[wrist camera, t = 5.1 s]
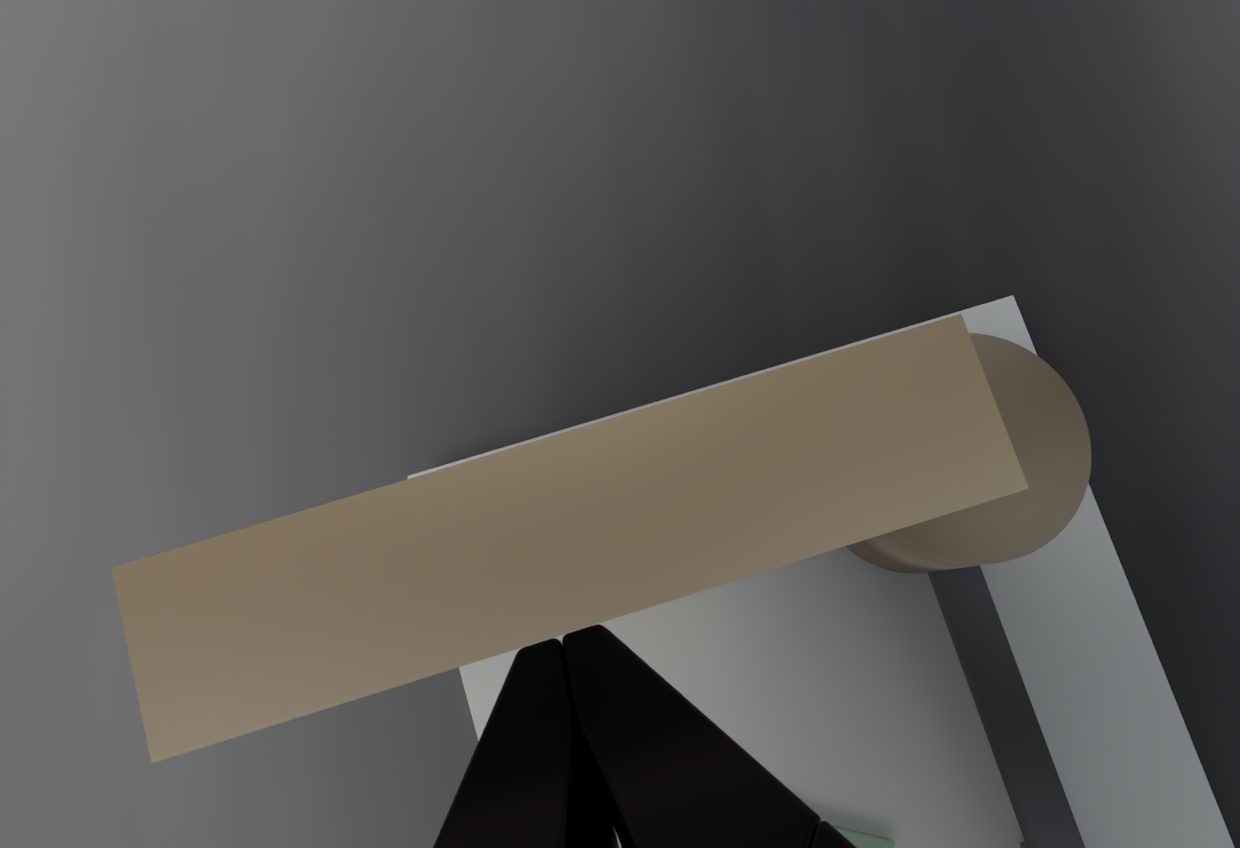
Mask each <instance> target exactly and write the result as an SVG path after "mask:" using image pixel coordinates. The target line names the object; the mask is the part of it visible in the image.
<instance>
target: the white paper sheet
mask: <svg viewBox="0 0 1240 848" xmlns="http://www.w3.org/2000/svg"><path fill="white" fill-rule="evenodd" d="M959 314H961V315H962V317H963V320H964V322H965V325H966V327H967V330H968V333H978V334H985V335H991V336H995V337H998V338H1002V339H1005V340H1008V341H1011V342H1013V343H1015V344H1018V345H1020V346H1022V347H1024V348H1026V349H1027V350H1029V351H1031V352H1032V353H1034V354H1036V355H1037V353H1036V351H1035V348H1034V346H1033V343H1032V341H1031V338H1030V336H1029V333H1028V331H1027V328H1026V326H1025V323H1024V321H1023V318H1022V316H1021V313H1020V311H1019V308H1018V306H1017V303H1016V301H1015V298H1014V296H1013V295H1012V296H1009V297H1006V298H1002V299H999V300H995V301H992V302H989V303H985V304H982V305H979V306H975V307H972V308H969V309H965V310H962V311H959V312H955V313H952V314H949V315H945V316H942V317H939V318H935V319H932V320H928V321H925V322H922V323H918V324H915V325H912V326H908V327H905V328H902V329H898V330H895V331H892V332H888V333H885V334H882V335H878V336H875V337H871V338H868V339H865V340H861V341H858V342H855V343H851V344H848V345H845V346H841V347H838V348H835V349H831V350H828V351H825V352H821V353H818V354H815V355H811V356H808V357H804V358H801V359H798V360H794V361H791V362H788V363H784V364H781V365H778V366H774V367H771V368H768V369H764V370H761V371H758V372H754V373H751V374H748V375H744V376H741V377H737V378H734V379H731V380H727V381H724V382H721V383H717V384H714V385H711V386H707V387H704V388H701V389H697V390H694V391H691V392H687V393H684V394H681V395H677V396H674V397H670V398H667V399H664V400H660V401H657V402H654V403H650V404H647V405H644V406H640V407H637V408H634V409H630V410H627V411H624V412H620V413H617V414H614V415H610V416H607V417H603V418H600V419H597V420H593V421H590V422H587V423H583V424H580V425H577V426H573V427H570V428H567V429H563V430H560V431H557V432H553V433H550V434H547V435H543V436H540V437H536V438H533V439H530V440H526V441H523V442H520V443H516V444H513V445H510V446H506V447H503V448H500V449H496V450H493V451H490V452H486V453H483V454H479V455H476V456H473V457H469V458H466V459H463V460H459V461H456V462H453V463H449V464H446V465H443V466H439V467H436V468H433V469H429V470H426V471H423V472H419V473H416V474H412V475H409V476H407V477H408V479H410V478H413V477H417V476H420V475H423V474H427V473H430V472H433V471H437V470H440V469H443V468H447V467H450V466H453V465H457V464H460V463H464V462H467V461H470V460H474V459H477V458H480V457H484V456H487V455H490V454H494V453H497V452H500V451H504V450H507V449H510V448H514V447H517V446H520V445H524V444H527V443H530V442H534V441H537V440H541V439H544V438H547V437H551V436H554V435H557V434H561V433H564V432H567V431H571V430H574V429H577V428H581V427H584V426H587V425H591V424H594V423H597V422H601V421H604V420H607V419H611V418H614V417H618V416H621V415H624V414H628V413H631V412H634V411H638V410H641V409H644V408H648V407H651V406H654V405H658V404H661V403H664V402H668V401H671V400H674V399H678V398H681V397H684V396H688V395H691V394H695V393H698V392H701V391H705V390H708V389H711V388H715V387H718V386H721V385H725V384H728V383H731V382H735V381H738V380H741V379H745V378H748V377H751V376H755V375H758V374H761V373H765V372H768V371H772V370H775V369H778V368H782V367H785V366H788V365H792V364H795V363H798V362H802V361H805V360H808V359H812V358H815V357H818V356H822V355H825V354H828V353H832V352H835V351H838V350H842V349H845V348H849V347H852V346H855V345H859V344H862V343H865V342H869V341H872V340H875V339H879V338H882V337H885V336H889V335H892V334H895V333H899V332H902V331H905V330H909V329H912V328H915V327H919V326H922V325H926V324H929V323H932V322H936V321H939V320H942V319H946V318H949V317H952V316H956V315H959ZM980 567H981V570H982V572H983V575H984V578H985V580H986V583H987V586H988V588H989V591H990V594H991V596H992V599H993V602H994V604H995V607H996V610H997V612H998V615H999V618H1000V620H1001V623H1002V626H1003V628H1004V631H1005V634H1006V636H1007V639H1008V642H1009V645H1010V647H1011V650H1012V653H1013V655H1014V658H1015V661H1016V663H1017V666H1018V669H1019V671H1020V674H1021V677H1022V679H1023V682H1024V685H1025V687H1026V690H1027V693H1028V695H1029V698H1030V701H1031V703H1032V706H1033V709H1034V711H1035V714H1036V717H1037V719H1038V722H1039V725H1040V727H1041V730H1042V733H1043V736H1044V738H1045V741H1046V744H1047V746H1048V749H1049V752H1050V754H1051V757H1052V760H1053V762H1054V765H1055V768H1056V770H1057V773H1058V776H1059V778H1060V781H1061V784H1062V786H1063V789H1064V792H1065V794H1066V797H1067V800H1068V802H1069V805H1070V808H1071V810H1072V813H1073V816H1074V818H1075V821H1076V824H1077V827H1078V829H1079V832H1080V835H1081V837H1082V840H1083V843H1084V845H1085V848H1235V847H1234V845H1233V842H1232V840H1231V838H1230V835H1229V833H1228V830H1227V828H1226V825H1225V823H1224V820H1223V818H1222V815H1221V813H1220V810H1219V808H1218V805H1217V803H1216V800H1215V798H1214V795H1213V793H1212V790H1211V788H1210V785H1209V783H1208V780H1207V778H1206V775H1205V773H1204V770H1203V768H1202V765H1201V763H1200V760H1199V758H1198V755H1197V753H1196V750H1195V748H1194V745H1193V743H1192V740H1191V738H1190V735H1189V733H1188V730H1187V728H1186V725H1185V723H1184V720H1183V718H1182V715H1181V713H1180V710H1179V708H1178V705H1177V703H1176V700H1175V698H1174V695H1173V693H1172V690H1171V688H1170V685H1169V683H1168V680H1167V678H1166V675H1165V673H1164V670H1163V668H1162V665H1161V663H1160V660H1159V658H1158V655H1157V653H1156V650H1155V648H1154V645H1153V643H1152V640H1151V638H1150V635H1149V633H1148V630H1147V628H1146V625H1145V623H1144V620H1143V618H1142V615H1141V613H1140V610H1139V608H1138V605H1137V603H1136V600H1135V598H1134V595H1133V593H1132V590H1131V588H1130V585H1129V583H1128V580H1127V578H1126V575H1125V573H1124V570H1123V568H1122V565H1121V563H1120V560H1119V558H1118V555H1117V553H1116V550H1115V548H1114V545H1113V543H1112V540H1111V538H1110V535H1109V533H1108V530H1107V528H1106V525H1105V523H1104V520H1103V518H1102V516H1101V513H1100V511H1099V508H1098V506H1097V503H1096V501H1095V498H1094V496H1093V493H1092V491H1091V488H1090V486H1089V483H1088V486H1087V489H1086V492H1085V495H1084V498H1083V500H1082V502H1081V504H1080V506H1079V508H1078V510H1077V512H1076V514H1075V515H1074V517H1073V518H1072V519H1071V521H1070V522H1069V523H1068V525H1067V526H1066V527H1065V528H1064V529H1063V530H1062V531H1061V532H1060V533H1059V534H1058V535H1057V536H1056V537H1055V538H1054V539H1053V540H1051V541H1050V542H1049V543H1047V544H1046V545H1045V546H1043V547H1041V548H1040V549H1038V550H1036V551H1034V552H1033V553H1030V554H1028V555H1025V556H1023V557H1020V558H1018V559H1014V560H1010V561H1006V562H1000V563H993V564H986V565H980ZM598 624H600V625H603V626H604V627H606V628H607V629H608V630H610V631H611V632H612V633H613V634H614V635H615V636H616V637H618V638H619V639H620V640H621V641H622V642H623V643H624V644H625V645H627V646H628V647H629V648H630V649H631V650H632V651H633V652H634V653H636V654H637V655H638V656H639V657H640V658H641V659H642V660H644V661H645V662H646V663H647V664H648V665H649V666H650V667H651V668H653V669H654V670H655V671H656V672H657V673H658V674H659V675H661V676H662V677H663V678H664V679H665V680H666V681H667V682H668V683H670V684H671V685H672V686H673V687H674V688H675V689H676V690H678V691H679V692H680V693H681V694H682V695H683V696H684V697H685V698H687V699H688V700H689V701H690V702H691V703H692V704H693V705H695V706H696V707H697V708H698V709H699V710H700V711H701V712H702V713H704V714H705V715H706V716H707V717H708V718H709V719H710V720H711V721H713V722H714V723H715V724H716V725H717V726H718V727H719V728H721V729H722V730H723V731H724V732H725V733H726V734H727V735H728V736H730V737H731V738H732V739H733V740H734V741H735V742H736V743H738V744H739V745H740V746H741V747H742V748H743V749H744V750H745V751H747V752H748V753H749V754H750V755H751V756H752V757H753V758H755V759H756V760H757V761H758V762H759V763H760V764H761V765H762V766H764V767H765V768H766V769H767V770H768V771H769V772H770V773H772V774H773V775H774V776H775V777H776V778H777V779H778V780H779V781H781V782H782V783H783V784H784V785H785V786H786V787H787V788H789V789H790V790H791V791H792V792H793V793H794V794H795V795H796V796H798V797H799V798H800V799H801V800H802V801H803V802H804V803H805V804H807V805H808V806H809V807H810V808H811V809H812V810H813V811H815V812H816V813H817V814H818V815H819V816H820V818H821V821H827V822H829V823H830V824H831V825H832V826H833V827H834V828H835V829H837V830H838V831H839V832H840V833H841V834H842V835H843V836H845V837H846V838H847V839H848V840H849V841H850V842H851V843H852V844H854V845H855V846H856V847H857V848H1027V845H1026V843H1025V840H1024V837H1023V834H1022V832H1021V829H1020V826H1019V823H1018V821H1017V818H1016V815H1015V812H1014V810H1013V807H1012V804H1011V801H1010V799H1009V796H1008V793H1007V790H1006V788H1005V785H1004V782H1003V779H1002V777H1001V774H1000V771H999V768H998V766H997V763H996V760H995V757H994V755H993V752H992V749H991V746H990V744H989V741H988V738H987V735H986V733H985V730H984V727H983V724H982V722H981V719H980V716H979V713H978V711H977V708H976V705H975V702H974V699H973V697H972V694H971V691H970V688H969V686H968V683H967V680H966V677H965V675H964V672H963V669H962V666H961V664H960V661H959V658H958V655H957V653H956V650H955V647H954V644H953V642H952V639H951V636H950V633H949V631H948V628H947V625H946V622H945V620H944V617H943V614H942V611H941V609H940V606H939V603H938V600H937V598H936V595H935V592H934V589H933V587H932V584H931V581H930V578H929V576H928V573H919V574H912V573H900V572H894V571H890V570H886V569H883V568H880V567H877V566H875V565H873V564H871V563H868V562H867V561H865V560H863V559H862V558H860V557H858V556H857V555H855V554H854V553H853V552H852V551H850V550H849V549H848V548H847V547H846V546H844V547H841V548H838V549H834V550H831V551H828V552H825V553H822V554H818V555H815V556H812V557H809V558H806V559H802V560H799V561H796V562H793V563H790V564H787V565H783V566H780V567H777V568H774V569H771V570H767V571H764V572H761V573H758V574H755V575H751V576H748V577H745V578H742V579H739V580H736V581H732V582H729V583H726V584H723V585H720V586H716V587H713V588H710V589H707V590H704V591H700V592H697V593H694V594H691V595H688V596H685V597H681V598H678V599H675V600H672V601H669V602H665V603H662V604H659V605H656V606H653V607H649V608H646V609H643V610H640V611H637V612H633V613H630V614H627V615H624V616H621V617H618V618H614V619H611V620H608V621H605V622H602V623H598ZM595 625H597V624H595ZM592 626H593V625H592ZM589 627H590V626H589ZM582 629H583V628H582ZM579 630H580V629H579ZM576 631H577V630H576ZM573 632H574V631H573ZM567 634H568V633H567ZM565 635H566V634H563V635H560V636H557V637H554V638H556V639H558V640H560V641H561V643H562V639H563V637H564V636H565ZM547 640H548V639H547ZM544 641H545V640H544ZM541 642H542V641H541ZM538 643H539V642H538ZM535 644H536V643H535ZM531 645H532V644H531ZM528 646H529V645H528ZM525 647H526V646H525ZM522 648H523V647H522ZM520 649H521V648H519V649H516V650H512V651H509V652H506V653H503V654H500V655H496V656H493V657H490V658H487V659H484V660H480V661H477V662H474V663H471V664H468V665H464V666H461V667H459V670H460V674H461V678H462V681H463V685H464V689H465V692H466V696H467V700H468V704H469V707H470V711H471V715H472V718H473V722H474V726H475V730H476V733H477V737H478V741H479V739H480V737H481V735H482V733H483V730H484V728H485V726H486V723H487V721H488V719H489V716H490V714H491V712H492V709H493V707H494V705H495V702H496V700H497V698H498V695H499V693H500V691H501V688H502V686H503V684H504V681H505V679H506V677H507V674H508V672H509V670H510V667H511V665H512V663H513V660H514V658H515V656H516V654H517V652H518V651H519V650H520ZM616 835H617V834H616ZM617 839H618V836H617ZM618 844H619V848H621V845H620V842H619V839H618Z"/></svg>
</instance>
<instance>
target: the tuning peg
mask: <svg viewBox="0 0 1240 848" xmlns="http://www.w3.org/2000/svg"><path fill="white" fill-rule="evenodd" d="M1091 457H1092V456H1091V442H1090V436H1089V431H1088V427H1087V424H1086V421H1085V418H1084V415H1083V412H1082V410H1081V408H1080V406H1079V403H1078V401H1077V399H1076V397H1075V396H1074V394H1073V393H1072V391H1071V390H1070V388H1069V387H1068V385H1067V384H1066V383H1065V381H1064V380H1063V379H1062V378H1061V377H1060V375H1059V374H1058V373H1057V372H1056V371H1055V370H1054V369H1053V368H1052V367H1051V366H1050V365H1048V364H1047V363H1046V362H1045V361H1044V360H1042V359H1041V358H1040V357H1038V356H1037V355H1036V354H1034V353H1032V352H1031V351H1029V350H1027V349H1026V348H1024V347H1022V346H1020V345H1018V344H1015V343H1013V342H1011V341H1008V340H1005V339H1002V338H998V337H995V336H991V335H985V334H978V333H968V330H967V327H966V325H965V322H964V320H963V317H962V315H961V314H959V315H956V316H952V317H949V318H946V319H942V320H939V321H936V322H932V323H929V324H926V325H922V326H919V327H915V328H912V329H909V330H905V331H902V332H899V333H895V334H892V335H889V336H885V337H882V338H879V339H875V340H872V341H869V342H865V343H862V344H859V345H855V346H852V347H849V348H845V349H842V350H838V351H835V352H832V353H828V354H825V355H822V356H818V357H815V358H812V359H808V360H805V361H802V362H798V363H795V364H792V365H788V366H785V367H782V368H778V369H775V370H772V371H768V372H765V373H761V374H758V375H755V376H751V377H748V378H745V379H741V380H738V381H735V382H731V383H728V384H725V385H721V386H718V387H715V388H711V389H708V390H705V391H701V392H698V393H695V394H691V395H688V396H684V397H681V398H678V399H674V400H671V401H668V402H664V403H661V404H658V405H654V406H651V407H648V408H644V409H641V410H638V411H634V412H631V413H628V414H624V415H621V416H618V417H614V418H611V419H607V420H604V421H601V422H597V423H594V424H591V425H587V426H584V427H581V428H577V429H574V430H571V431H567V432H564V433H561V434H557V435H554V436H551V437H547V438H544V439H541V440H537V441H534V442H530V443H527V444H524V445H520V446H517V447H514V448H510V449H507V450H504V451H500V452H497V453H494V454H490V455H487V456H484V457H480V458H477V459H474V460H470V461H467V462H464V463H460V464H457V465H453V466H450V467H447V468H443V469H440V470H437V471H433V472H430V473H427V474H423V475H420V476H417V477H413V478H410V479H407V480H403V481H400V482H397V483H393V484H390V485H387V486H383V487H380V488H376V489H373V490H370V491H366V492H363V493H360V494H356V495H353V496H350V497H346V498H343V499H340V500H336V501H333V502H330V503H326V504H323V505H320V506H316V507H313V508H310V509H306V510H303V511H299V512H296V513H293V514H289V515H286V516H283V517H279V518H276V519H273V520H269V521H266V522H263V523H259V524H256V525H253V526H249V527H246V528H243V529H239V530H236V531H233V532H229V533H226V534H222V535H219V536H216V537H212V538H209V539H206V540H202V541H199V542H196V543H192V544H189V545H186V546H182V547H179V548H176V549H172V550H169V551H166V552H162V553H159V554H156V555H152V556H149V557H145V558H142V559H139V560H135V561H132V562H129V563H125V564H122V565H119V566H115V567H112V568H111V571H112V575H113V580H114V585H115V590H116V595H117V600H118V604H119V609H120V614H121V619H122V624H123V628H124V633H125V638H126V643H127V648H128V653H129V657H130V662H131V667H132V672H133V677H134V681H135V686H136V691H137V696H138V701H139V706H140V710H141V715H142V720H143V725H144V730H145V734H146V739H147V744H148V749H149V754H150V758H151V763H155V762H158V761H162V760H165V759H168V758H171V757H174V756H177V755H181V754H184V753H187V752H190V751H193V750H197V749H200V748H203V747H206V746H209V745H213V744H216V743H219V742H222V741H225V740H229V739H232V738H235V737H238V736H241V735H244V734H248V733H251V732H254V731H257V730H260V729H264V728H267V727H270V726H273V725H276V724H280V723H283V722H286V721H289V720H292V719H295V718H299V717H302V716H305V715H308V714H311V713H315V712H318V711H321V710H324V709H327V708H331V707H334V706H337V705H340V704H343V703H346V702H350V701H353V700H356V699H359V698H362V697H366V696H369V695H372V694H375V693H378V692H382V691H385V690H388V689H391V688H394V687H398V686H401V685H404V684H407V683H410V682H413V681H417V680H420V679H423V678H426V677H429V676H433V675H436V674H439V673H442V672H445V671H449V670H452V669H455V668H458V667H461V666H464V665H468V664H471V663H474V662H477V661H480V660H484V659H487V658H490V657H493V656H496V655H500V654H503V653H506V652H509V651H512V650H516V649H519V648H522V647H525V646H528V645H531V644H535V643H538V642H541V641H544V640H547V639H551V638H554V637H557V636H560V635H563V634H567V633H570V632H573V631H576V630H579V629H582V628H586V627H589V626H592V625H595V624H598V623H602V622H605V621H608V620H611V619H614V618H618V617H621V616H624V615H627V614H630V613H633V612H637V611H640V610H643V609H646V608H649V607H653V606H656V605H659V604H662V603H665V602H669V601H672V600H675V599H678V598H681V597H685V596H688V595H691V594H694V593H697V592H700V591H704V590H707V589H710V588H713V587H716V586H720V585H723V584H726V583H729V582H732V581H736V580H739V579H742V578H745V577H748V576H751V575H755V574H758V573H761V572H764V571H767V570H771V569H774V568H777V567H780V566H783V565H787V564H790V563H793V562H796V561H799V560H802V559H806V558H809V557H812V556H815V555H818V554H822V553H825V552H828V551H831V550H834V549H838V548H841V547H844V546H846V547H847V548H848V549H849V550H850V551H852V552H853V553H854V554H855V555H857V556H858V557H860V558H862V559H863V560H865V561H867V562H868V563H871V564H873V565H875V566H877V567H880V568H883V569H886V570H890V571H894V572H900V573H912V574H919V573H928V576H929V578H930V581H931V584H932V587H933V589H934V592H935V595H936V598H937V600H938V603H939V606H940V609H941V611H942V614H943V617H944V620H945V622H946V625H947V628H948V631H949V633H950V636H951V639H952V642H953V644H954V647H955V650H956V653H957V655H958V658H959V661H960V664H961V666H962V669H963V672H964V675H965V677H966V680H967V683H968V686H969V688H970V691H971V694H972V697H973V699H974V702H975V705H976V708H977V711H978V713H979V716H980V719H981V722H982V724H983V727H984V730H985V733H986V735H987V738H988V741H989V744H990V746H991V749H992V752H993V755H994V757H995V760H996V763H997V766H998V768H999V771H1000V774H1001V777H1002V779H1003V782H1004V785H1005V788H1006V790H1007V793H1008V796H1009V799H1010V801H1011V804H1012V807H1013V810H1014V812H1015V815H1016V818H1017V821H1018V823H1019V826H1020V829H1021V832H1022V834H1023V837H1024V840H1025V843H1026V845H1027V848H1085V845H1084V843H1083V840H1082V837H1081V835H1080V832H1079V829H1078V827H1077V824H1076V821H1075V818H1074V816H1073V813H1072V810H1071V808H1070V805H1069V802H1068V800H1067V797H1066V794H1065V792H1064V789H1063V786H1062V784H1061V781H1060V778H1059V776H1058V773H1057V770H1056V768H1055V765H1054V762H1053V760H1052V757H1051V754H1050V752H1049V749H1048V746H1047V744H1046V741H1045V738H1044V736H1043V733H1042V730H1041V727H1040V725H1039V722H1038V719H1037V717H1036V714H1035V711H1034V709H1033V706H1032V703H1031V701H1030V698H1029V695H1028V693H1027V690H1026V687H1025V685H1024V682H1023V679H1022V677H1021V674H1020V671H1019V669H1018V666H1017V663H1016V661H1015V658H1014V655H1013V653H1012V650H1011V647H1010V645H1009V642H1008V639H1007V636H1006V634H1005V631H1004V628H1003V626H1002V623H1001V620H1000V618H999V615H998V612H997V610H996V607H995V604H994V602H993V599H992V596H991V594H990V591H989V588H988V586H987V583H986V580H985V578H984V575H983V572H982V570H981V567H980V565H986V564H993V563H1000V562H1006V561H1010V560H1014V559H1018V558H1020V557H1023V556H1025V555H1028V554H1030V553H1033V552H1034V551H1036V550H1038V549H1040V548H1041V547H1043V546H1045V545H1046V544H1047V543H1049V542H1050V541H1051V540H1053V539H1054V538H1055V537H1056V536H1057V535H1058V534H1059V533H1060V532H1061V531H1062V530H1063V529H1064V528H1065V527H1066V526H1067V525H1068V523H1069V522H1070V521H1071V519H1072V518H1073V517H1074V515H1075V514H1076V512H1077V510H1078V508H1079V506H1080V504H1081V502H1082V500H1083V498H1084V495H1085V492H1086V489H1087V486H1088V482H1089V477H1090V472H1091Z"/></svg>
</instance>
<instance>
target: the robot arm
mask: <svg viewBox="0 0 1240 848" xmlns="http://www.w3.org/2000/svg"><path fill="white" fill-rule="evenodd" d="M616 834H617V835H616ZM617 836H618V839H619V842H620V845H621V848H857V847H856V846H855V845H854V844H852V843H851V842H850V841H849V840H848V839H847V838H846V837H845V836H843V835H842V834H841V833H840V832H839V831H838V830H837V829H835V828H834V827H833V826H832V825H831V824H830V823H829V822H827V821H821V818H820V816H819V815H818V814H817V813H816V812H815V811H813V810H812V809H811V808H810V807H809V806H808V805H807V804H805V803H804V802H803V801H802V800H801V799H800V798H799V797H798V796H796V795H795V794H794V793H793V792H792V791H791V790H790V789H789V788H787V787H786V786H785V785H784V784H783V783H782V782H781V781H779V780H778V779H777V778H776V777H775V776H774V775H773V774H772V773H770V772H769V771H768V770H767V769H766V768H765V767H764V766H762V765H761V764H760V763H759V762H758V761H757V760H756V759H755V758H753V757H752V756H751V755H750V754H749V753H748V752H747V751H745V750H744V749H743V748H742V747H741V746H740V745H739V744H738V743H736V742H735V741H734V740H733V739H732V738H731V737H730V736H728V735H727V734H726V733H725V732H724V731H723V730H722V729H721V728H719V727H718V726H717V725H716V724H715V723H714V722H713V721H711V720H710V719H709V718H708V717H707V716H706V715H705V714H704V713H702V712H701V711H700V710H699V709H698V708H697V707H696V706H695V705H693V704H692V703H691V702H690V701H689V700H688V699H687V698H685V697H684V696H683V695H682V694H681V693H680V692H679V691H678V690H676V689H675V688H674V687H673V686H672V685H671V684H670V683H668V682H667V681H666V680H665V679H664V678H663V677H662V676H661V675H659V674H658V673H657V672H656V671H655V670H654V669H653V668H651V667H650V666H649V665H648V664H647V663H646V662H645V661H644V660H642V659H641V658H640V657H639V656H638V655H637V654H636V653H634V652H633V651H632V650H631V649H630V648H629V647H628V646H627V645H625V644H624V643H623V642H622V641H621V640H620V639H619V638H618V637H616V636H615V635H614V634H613V633H612V632H611V631H610V630H608V629H607V628H606V627H604V626H603V625H600V624H597V625H593V626H590V627H586V628H583V629H580V630H577V631H574V632H570V633H568V634H566V635H565V636H564V637H563V639H562V643H561V641H560V640H558V639H556V638H551V639H548V640H545V641H542V642H539V643H536V644H532V645H529V646H526V647H523V648H521V649H520V650H519V651H518V652H517V654H516V656H515V658H514V660H513V663H512V665H511V667H510V670H509V672H508V674H507V677H506V679H505V681H504V684H503V686H502V688H501V691H500V693H499V695H498V698H497V700H496V702H495V705H494V707H493V709H492V712H491V714H490V716H489V719H488V721H487V723H486V726H485V728H484V730H483V733H482V735H481V737H480V739H479V742H478V744H477V746H476V749H475V751H474V753H473V756H472V758H471V760H470V763H469V765H468V767H467V770H466V772H465V774H464V777H463V779H462V781H461V784H460V786H459V788H458V791H457V793H456V795H455V798H454V800H453V802H452V805H451V807H450V809H449V812H448V814H447V816H446V819H445V821H444V823H443V826H442V828H441V830H440V833H439V835H438V837H437V840H436V842H435V844H434V847H433V848H619V844H618V839H617Z"/></svg>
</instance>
